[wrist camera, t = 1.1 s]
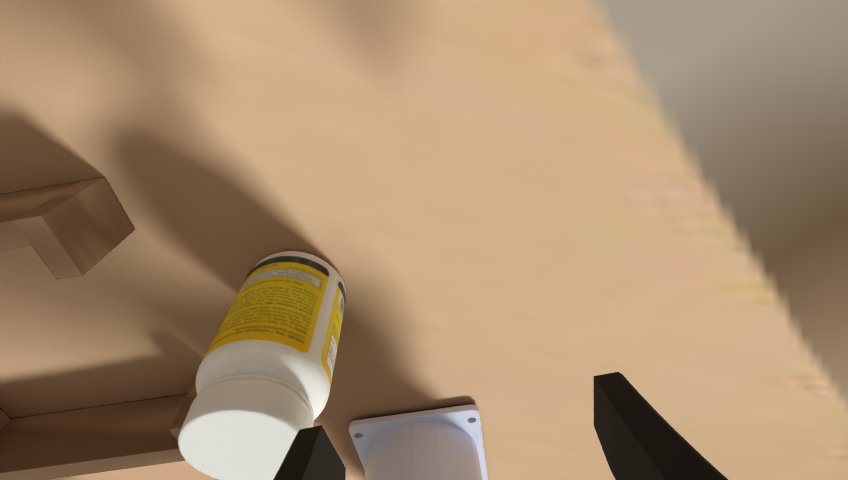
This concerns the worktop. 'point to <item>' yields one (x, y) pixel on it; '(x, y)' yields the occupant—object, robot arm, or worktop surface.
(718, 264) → the worktop surface
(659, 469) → the robot arm
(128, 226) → the walled box
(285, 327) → the supplement bottle
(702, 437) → the worktop surface
